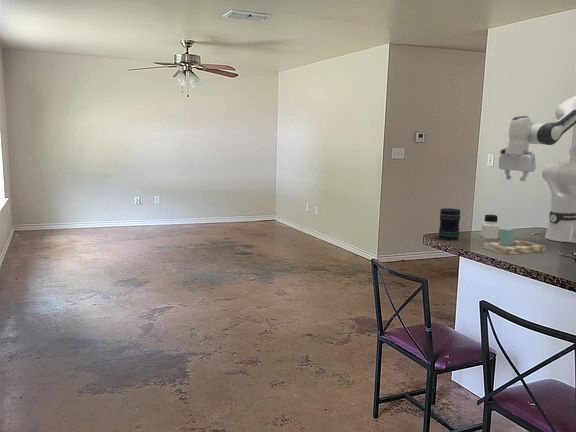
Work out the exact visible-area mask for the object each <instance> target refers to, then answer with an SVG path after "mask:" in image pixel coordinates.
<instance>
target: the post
mask: <svg viewBox="0 0 576 432" xmlns="http://www.w3.org/2000/svg"><path fill="white" fill-rule="evenodd" d="M514 238H515V229H513V228H508V227H506V228H500V230H499V242H500V245H502V246H505V247H510V246H513V241H514Z"/></svg>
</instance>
